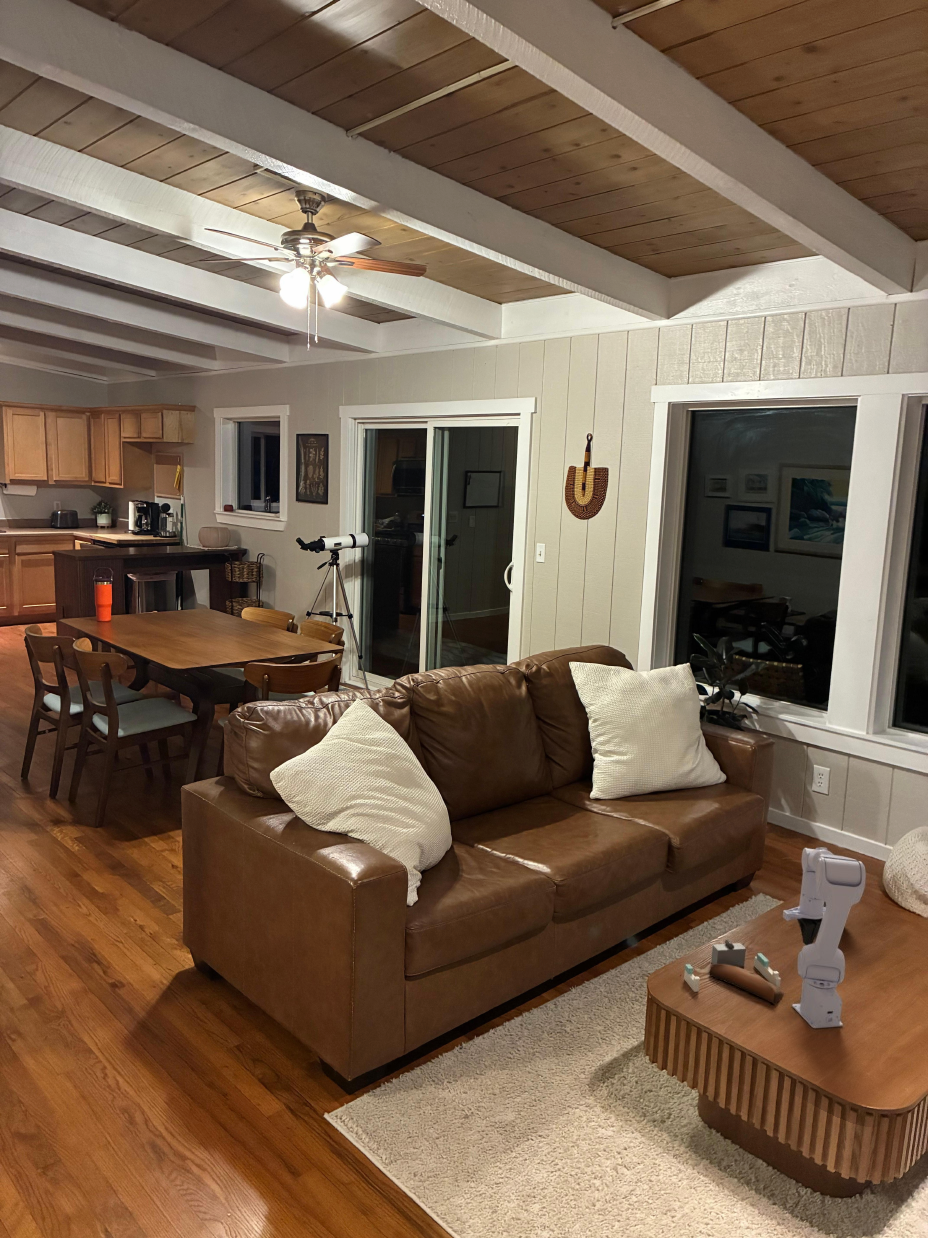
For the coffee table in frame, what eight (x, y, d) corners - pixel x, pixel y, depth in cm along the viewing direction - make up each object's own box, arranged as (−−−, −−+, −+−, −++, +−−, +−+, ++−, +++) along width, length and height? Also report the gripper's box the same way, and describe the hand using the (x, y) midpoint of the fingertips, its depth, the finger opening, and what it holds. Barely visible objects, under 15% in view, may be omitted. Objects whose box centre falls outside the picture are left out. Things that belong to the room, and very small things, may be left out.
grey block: (744, 966, 242) (746, 944, 241) (716, 968, 240) (718, 946, 239) (738, 960, 245) (740, 939, 244) (711, 962, 243) (713, 940, 242)
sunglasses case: (789, 993, 230) (785, 977, 226) (776, 1015, 226) (772, 999, 223) (724, 965, 242) (719, 949, 239) (711, 985, 238) (706, 970, 235)
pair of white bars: (779, 988, 232) (781, 973, 231) (696, 994, 227) (697, 979, 227) (757, 965, 242) (759, 951, 242) (677, 970, 238) (678, 956, 237)
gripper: (829, 886, 238) (823, 935, 240) (778, 889, 235) (773, 938, 237) (845, 898, 231) (839, 948, 233) (793, 901, 228) (788, 951, 230)
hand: (807, 944), depth 235 cm, fingers closed
